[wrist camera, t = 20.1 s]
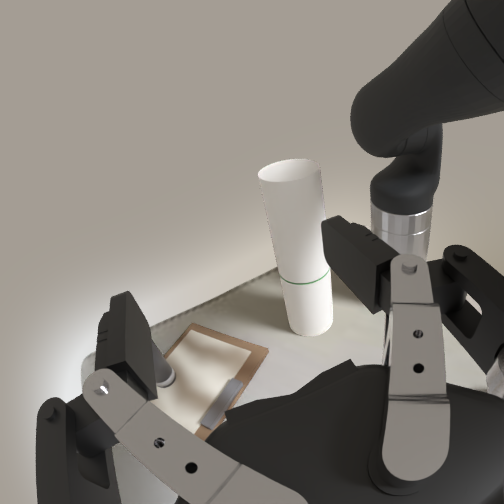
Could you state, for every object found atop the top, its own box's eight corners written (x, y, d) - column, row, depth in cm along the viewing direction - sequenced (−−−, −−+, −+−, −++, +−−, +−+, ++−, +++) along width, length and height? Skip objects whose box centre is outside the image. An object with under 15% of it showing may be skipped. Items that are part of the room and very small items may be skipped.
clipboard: (193, 325, 52) (190, 318, 51) (268, 351, 44) (266, 344, 43) (114, 420, 38) (107, 414, 37) (185, 473, 30) (179, 469, 29)
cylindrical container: (333, 302, 50) (319, 156, 36) (332, 336, 44) (319, 178, 30) (291, 304, 52) (263, 162, 38) (286, 336, 46) (252, 185, 32)
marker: (164, 364, 45) (122, 302, 37) (181, 374, 43) (139, 310, 35) (149, 381, 42) (102, 321, 34) (166, 392, 40) (118, 331, 32)
